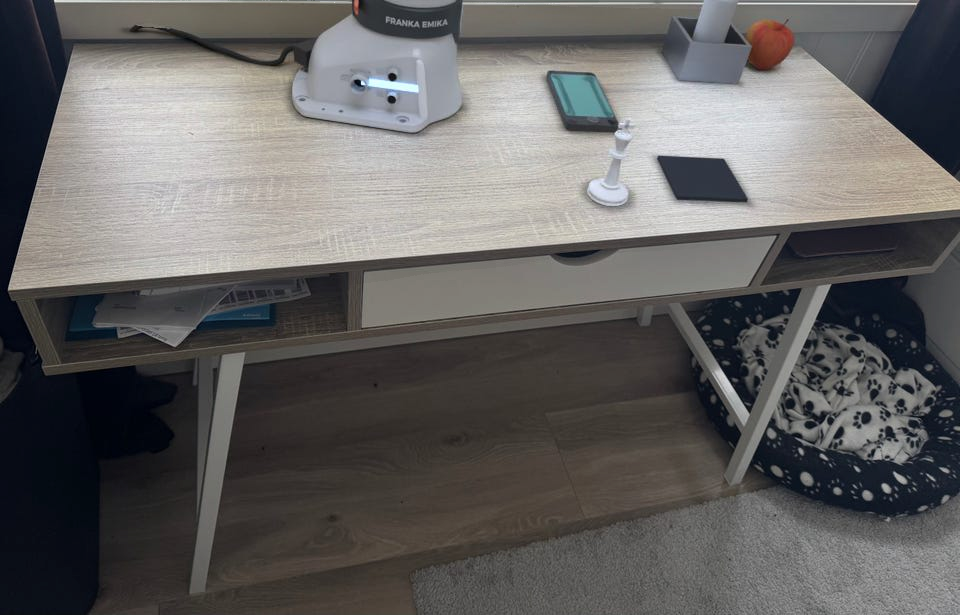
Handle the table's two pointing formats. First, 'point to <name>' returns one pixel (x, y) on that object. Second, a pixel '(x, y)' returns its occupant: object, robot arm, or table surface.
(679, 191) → the mat
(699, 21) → the beverage can
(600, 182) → the chess piece
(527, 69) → the table surface
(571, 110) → the smartphone
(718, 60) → the holder
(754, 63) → the apple
